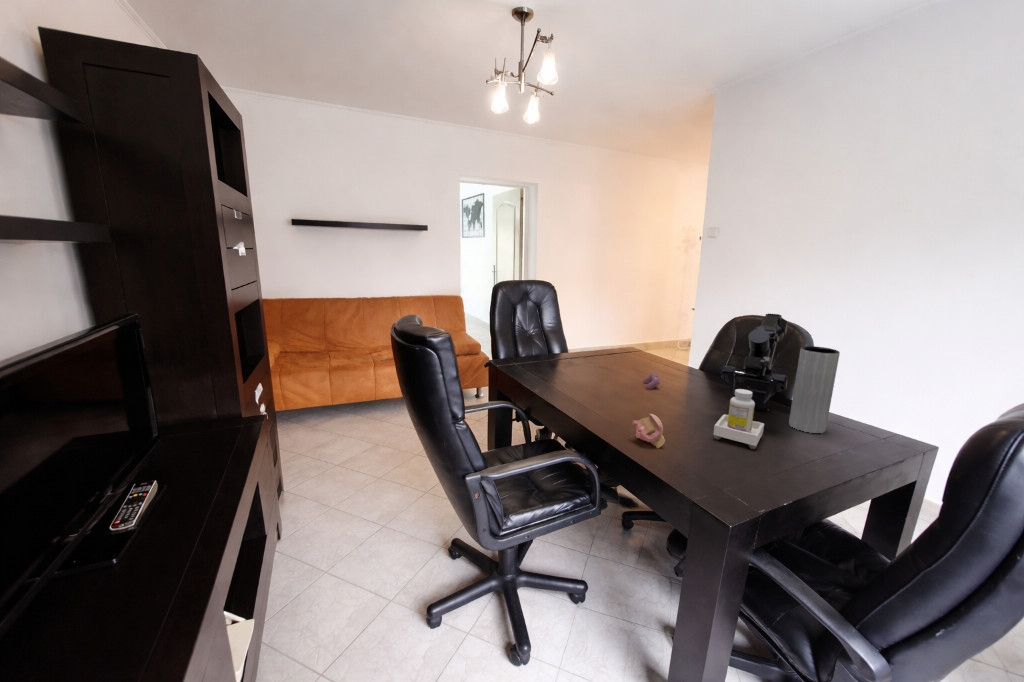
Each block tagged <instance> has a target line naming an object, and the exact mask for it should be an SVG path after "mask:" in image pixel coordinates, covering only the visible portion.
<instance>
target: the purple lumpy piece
mask: <svg viewBox="0 0 1024 682" xmlns="http://www.w3.org/2000/svg"><path fill="white" fill-rule="evenodd" d="M642 382H643V384H646V385H645V389H646V390H653V389H654V388H655V387H658V385H660V384H661V383H660V382H661V379H660V376H659V374H657V373H651V374H649V375H648V376H647V377H645V378H644V379H643V380H642Z"/></svg>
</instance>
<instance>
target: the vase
mask: <svg viewBox="0 0 1024 682" xmlns="http://www.w3.org/2000/svg"><path fill="white" fill-rule="evenodd" d="M840 353H841V352H840V351H839V350H837V349H833V348H830V347H829V348H828V347H823V346H813V345H812V346H811V345H810V346H809V345H807V346H801V347H800V351H799V357H798V363H797V367H796V368H797V371H796V374H795V381H794V387H793V388H794V389H793V394H792V401H791V407H790V413H789V419H788V420H789V421H788V425H789V427H791V428H792V427H793V428H792V429H794V428H795V429H794V430H796V429H797V431H799V430H801V431H800V432H802V431H804V433H806V432H809V433H808V434H812V433H821V434H824V433H825V432H826V431H827V430H826V429H827V426H828V419H829V415H830V414H829V413H830V409H831V403H832V397H833V394H834V393H833V392H834V387H835V381H836V375H837V370H838V366H839V361H840V360H839V359H840Z"/></svg>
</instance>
